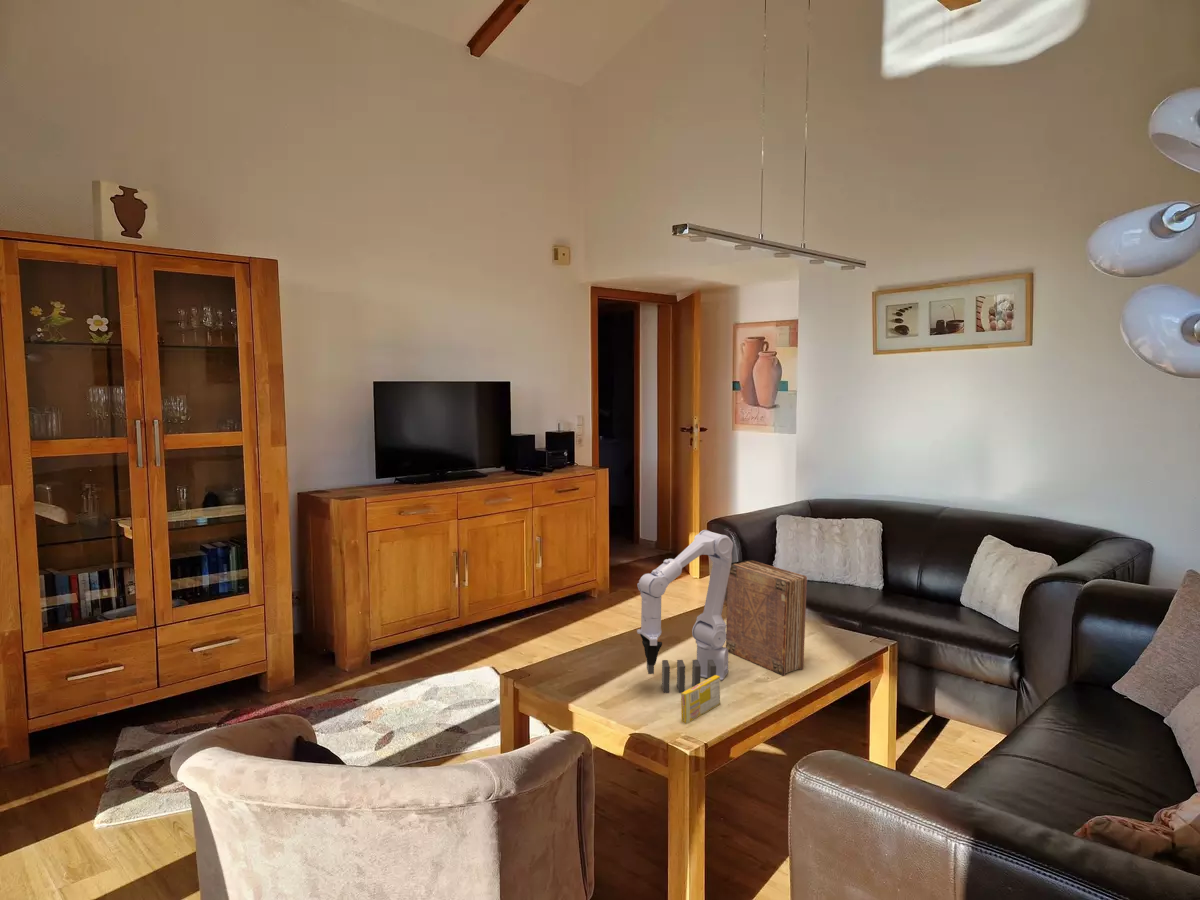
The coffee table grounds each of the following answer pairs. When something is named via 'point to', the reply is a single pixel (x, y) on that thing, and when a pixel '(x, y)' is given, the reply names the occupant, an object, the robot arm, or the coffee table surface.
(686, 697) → the candy box
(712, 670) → the domino
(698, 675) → the domino
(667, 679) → the domino
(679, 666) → the domino
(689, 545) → the robot arm
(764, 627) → the book
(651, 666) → the domino
